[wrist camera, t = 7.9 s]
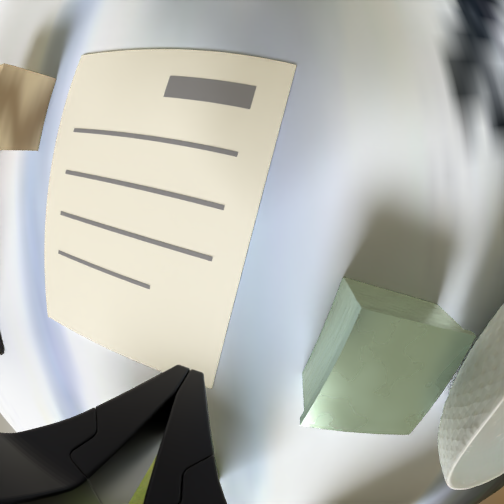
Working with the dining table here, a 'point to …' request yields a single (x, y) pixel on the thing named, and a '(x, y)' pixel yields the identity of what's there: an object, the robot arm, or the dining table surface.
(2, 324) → the dining table surface
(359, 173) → the dining table surface
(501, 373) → the cereal bowl
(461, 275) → the dining table surface
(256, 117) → the letter
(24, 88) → the cube
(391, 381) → the translucent green block
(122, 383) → the dining table surface
